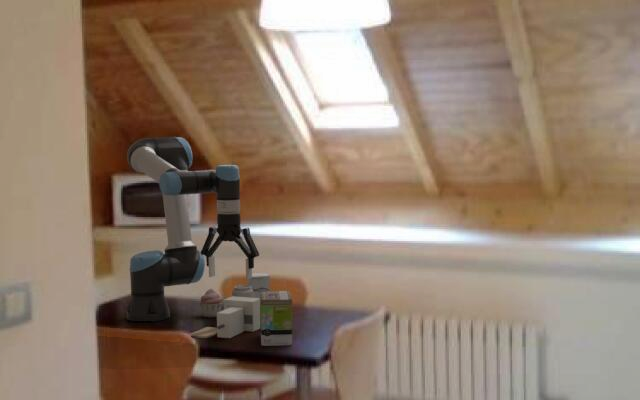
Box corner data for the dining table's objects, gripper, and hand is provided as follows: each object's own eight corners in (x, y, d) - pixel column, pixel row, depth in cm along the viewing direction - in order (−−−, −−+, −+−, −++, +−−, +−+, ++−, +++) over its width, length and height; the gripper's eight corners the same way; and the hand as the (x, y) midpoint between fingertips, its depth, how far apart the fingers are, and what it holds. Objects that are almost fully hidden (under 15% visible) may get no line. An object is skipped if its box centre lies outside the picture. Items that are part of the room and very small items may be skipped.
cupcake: (214, 319, 321) (213, 291, 320) (193, 317, 326) (192, 289, 325) (229, 314, 329) (228, 287, 328) (208, 312, 334) (207, 285, 333)
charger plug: (212, 339, 293) (211, 315, 292) (235, 328, 307) (235, 305, 307) (224, 340, 291) (224, 316, 290) (247, 329, 305) (247, 306, 305)
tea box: (293, 345, 283) (292, 298, 282) (261, 346, 282) (259, 299, 281) (291, 334, 298) (290, 289, 297) (260, 335, 297) (259, 290, 296)
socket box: (224, 329, 306) (223, 299, 306) (232, 325, 312) (232, 296, 311) (253, 331, 302) (252, 301, 301) (261, 327, 308) (261, 298, 307)
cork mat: (187, 336, 297) (187, 334, 297) (206, 328, 308) (206, 326, 308) (206, 338, 294) (206, 336, 294) (224, 330, 305) (224, 328, 305)
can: (245, 323, 315) (244, 288, 314) (228, 320, 319) (227, 286, 318) (258, 318, 321) (257, 285, 320) (241, 316, 325) (240, 283, 324)
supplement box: (251, 310, 336) (250, 276, 334) (247, 306, 343) (246, 273, 342) (270, 309, 337) (270, 275, 336) (267, 305, 344) (266, 272, 343)
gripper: (189, 212, 297) (191, 277, 299) (258, 214, 288) (259, 281, 290) (200, 210, 304) (202, 273, 306) (268, 212, 295) (269, 277, 297)
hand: (230, 277), depth 298 cm, fingers open, 13 cm apart
